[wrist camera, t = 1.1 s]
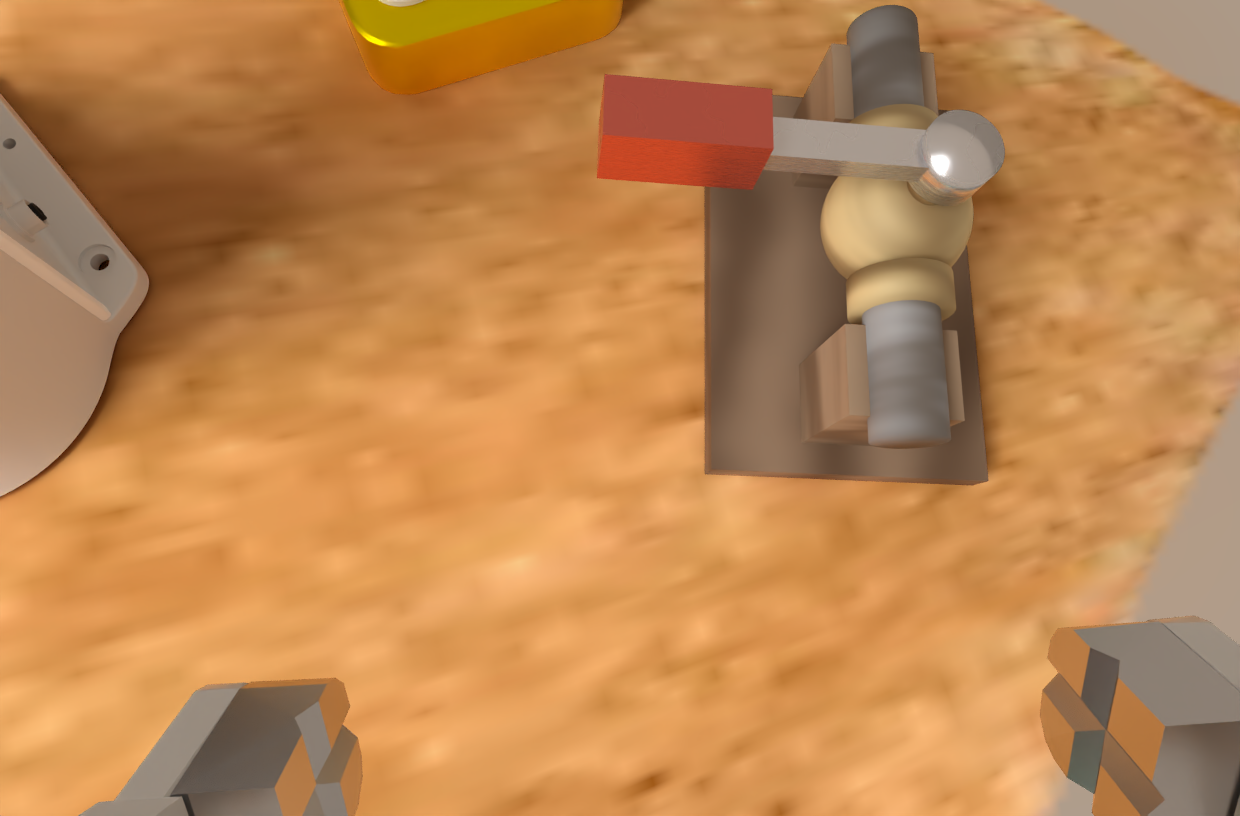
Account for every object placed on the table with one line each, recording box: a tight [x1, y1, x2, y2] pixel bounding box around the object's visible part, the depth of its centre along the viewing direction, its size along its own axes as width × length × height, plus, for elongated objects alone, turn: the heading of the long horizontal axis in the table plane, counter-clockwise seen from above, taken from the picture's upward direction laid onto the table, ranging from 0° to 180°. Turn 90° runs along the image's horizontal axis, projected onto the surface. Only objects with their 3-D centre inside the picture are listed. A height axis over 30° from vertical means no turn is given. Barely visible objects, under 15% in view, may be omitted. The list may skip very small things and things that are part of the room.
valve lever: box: [597, 74, 1005, 206], centre depth 28 cm, size 15×3×3 cm, turn 88°
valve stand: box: [705, 5, 988, 485], centre depth 35 cm, size 14×21×11 cm, turn 178°
